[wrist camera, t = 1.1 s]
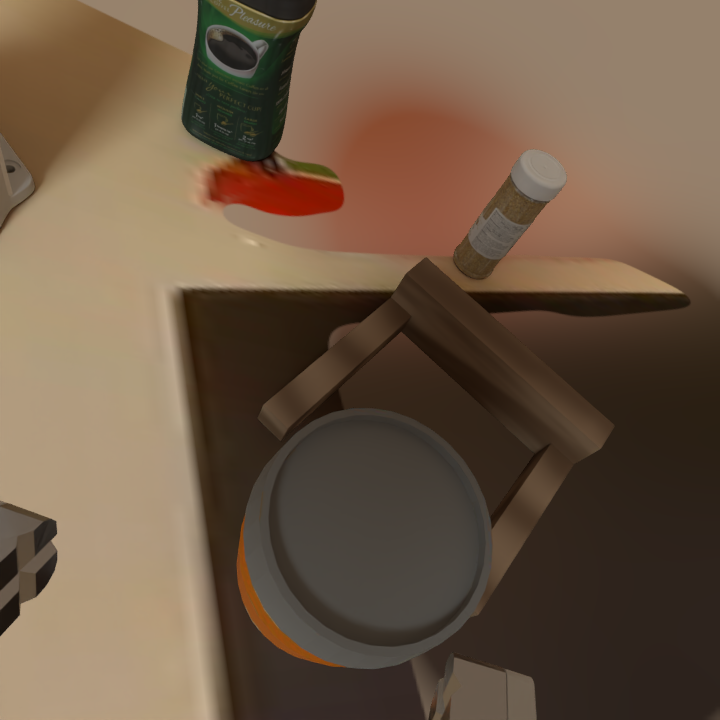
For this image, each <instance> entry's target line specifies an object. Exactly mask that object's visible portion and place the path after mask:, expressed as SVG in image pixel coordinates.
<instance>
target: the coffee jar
mask: <svg viewBox="0 0 720 720" xmlns="http://www.w3.org/2000/svg"><path fill="white" fill-rule="evenodd" d="M316 3H317V0H198V21H197V32H196V38H195V44H194V49H193V55H192V61H191V66H190V70H189V75H188V79H187V84H186V89H185V94H184V99H183V106H182V123H183V125H184V127H185V128H186V130H187V131H188V132H189V133H190V134H191V135H193V136H194V137H196V138H197V139H199V140H201V141H202V142H204V143H206V144H208V145H210V146H212V147H214V148H216V149H218V150H220V151H222V152H224V153H227V154H229V155H232V156H234V157H237V158H239V159H242V160H246V161H257V160H262V159H264V158H266V157H268V156H269V155H270V154H271V153H272V152H273V151H274V150H275V148H276V147H277V146H278V144H279V142H280V140H281V137H282V134H283V129H284V124H285V118H286V112H287V103H288V96H289V87H290V80H291V73H292V67H293V61H294V55H295V51H296V47H297V43H298V39H299V35H300V32H301V31H302V30H303V29H304V27H305V26H306V25H307V23H308V22H309V20H310V18H311V16H312V14H313V12H314V9H315V5H316Z"/></svg>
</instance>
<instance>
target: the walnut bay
mask: <svg viewBox="0 0 720 720" xmlns="http://www.w3.org/2000/svg"><path fill="white" fill-rule="evenodd" d="M400 332H403V333H404V334H405V335H406V336H407V337H408V338H409V339H410V340H411V341H412V342H413V343H415V344H416V345H417V346H418V347H419V348H420V349H421V350H422V351H423V352H424V353H425V354H427V355H428V356H429V357H430V358H431V359H432V360H433V361H434V362H435V363H436V364H437V365H439V366H440V367H441V368H442V369H443V370H444V371H445V372H446V373H447V374H448V375H449V376H450V377H452V378H453V379H454V380H455V381H456V382H457V383H458V384H459V385H460V386H461V387H462V388H463V389H465V390H466V391H467V392H468V393H469V394H470V395H471V396H472V397H473V398H474V399H475V400H477V401H478V402H479V403H480V404H481V405H482V406H483V407H484V408H485V409H487V410H488V411H489V412H490V413H491V414H492V415H493V416H494V417H495V418H496V419H497V420H498V421H499V422H501V423H502V424H503V425H504V426H505V427H506V428H507V429H508V430H509V431H510V432H511V433H512V434H513V435H515V436H516V437H517V438H518V439H519V440H520V441H521V442H522V443H523V444H524V445H526V446H527V447H528V448H529V449H530V450H531V451H532V452H533V453H534V454H535V455H534V456H533V457H532V459H531V460H530V461H529V463H528V464H527V466H526V467H525V469H524V470H523V472H522V473H521V474H520V476H519V477H518V479H517V480H516V481H515V483H514V484H513V486H512V487H511V489H510V490H509V491H508V493H507V494H506V496H505V497H504V499H503V500H502V502H501V503H500V505H499V506H498V507H497V509H496V510H495V512H494V513H493V514H492V516H491V517H490V520H491V528H492V539H493V552H492V564H491V570H490V574H489V578H488V581H487V585H486V588H485V591H484V593H483V595H482V597H481V599H480V601H479V603H478V605H477V607H476V609H475V611H474V612H473V613H472V615H471V616H470V617H473V616H476V615H479V613H480V612H481V610H482V608H483V607H484V605H485V604H486V602H487V600H488V599H489V597H490V596H491V594H492V593H493V591H494V589H495V588H496V586H497V585H498V583H499V582H500V580H501V578H502V577H503V575H504V574H505V572H506V571H507V569H508V567H509V566H510V564H511V563H512V561H513V559H514V558H515V556H516V555H517V553H518V552H519V550H520V548H521V547H522V545H523V544H524V542H525V540H526V539H527V537H528V536H529V534H530V533H531V531H532V529H533V528H534V526H535V525H536V523H537V521H538V520H539V518H540V517H541V515H542V514H543V512H544V510H545V509H546V507H547V506H548V504H549V502H550V501H551V499H552V498H553V496H554V495H555V493H556V491H557V490H558V488H559V487H560V485H561V484H562V482H563V480H564V478H565V477H566V476H567V474H568V473H569V471H570V469H571V468H572V466H573V465H574V464H575V463H577V462H578V461H580V460H582V459H584V458H585V457H587V456H589V455H591V454H592V453H594V452H596V451H598V450H599V449H601V448H602V446H603V444H604V442H605V441H606V439H607V438H608V436H609V434H610V433H611V431H612V429H613V428H614V424H612V423H611V422H610V421H609V420H608V419H607V418H606V417H605V416H603V415H602V414H601V413H600V412H599V411H598V410H597V409H595V408H594V407H593V406H592V405H591V404H590V403H589V402H588V401H587V400H585V399H584V398H583V397H582V396H581V395H580V394H579V393H578V392H576V391H575V390H574V389H573V388H572V387H571V386H570V385H569V384H568V383H566V382H565V381H564V380H563V379H562V378H561V377H560V376H559V375H558V374H556V373H555V372H554V371H553V370H552V369H551V368H550V367H549V366H547V365H546V364H545V363H544V362H543V361H542V360H541V359H540V358H538V357H537V356H536V355H535V354H534V353H533V352H532V351H530V350H529V349H528V348H527V347H526V346H525V345H524V344H523V343H522V342H521V341H519V340H518V339H517V338H516V337H515V336H514V335H513V334H512V333H510V332H509V331H508V330H507V329H506V328H505V327H504V326H503V325H501V324H500V323H499V322H498V321H497V320H496V319H495V318H494V317H492V316H491V315H490V314H489V313H488V312H487V311H486V310H485V309H484V308H482V307H481V306H480V305H479V304H478V303H477V302H476V301H475V300H474V299H472V298H471V297H470V296H469V295H468V294H467V293H466V292H465V291H463V290H462V289H461V288H460V287H459V286H458V285H457V284H456V283H455V282H453V281H452V280H451V279H450V278H449V277H448V276H447V275H446V274H444V273H443V272H442V271H441V270H440V269H439V268H438V267H437V266H435V265H434V264H433V263H432V262H431V261H430V260H429V259H428V258H427V257H426V258H424V259H423V260H422V261H421V262H419V263H418V264H417V265H416V266H415V267H413V268H412V269H411V270H410V271H409V272H407V273H406V275H405V276H404V278H403V279H402V281H401V282H400V284H399V286H398V287H397V289H396V290H395V292H394V294H393V295H392V297H391V298H390V299H389V300H387V301H386V302H385V303H384V304H383V305H381V306H380V307H379V308H378V309H377V310H375V311H374V312H373V313H372V314H371V315H370V316H368V317H367V318H366V319H365V320H364V321H362V322H361V323H360V324H359V325H358V326H357V327H355V328H354V329H353V330H352V331H351V332H349V333H348V334H347V335H346V336H345V337H343V338H342V339H341V340H340V341H339V342H338V343H336V344H335V345H334V346H333V347H332V348H330V349H329V350H328V351H327V352H326V353H324V354H323V355H322V356H321V357H320V358H318V359H317V360H316V361H315V362H314V363H313V364H311V365H310V366H309V367H308V368H307V369H305V370H304V371H303V372H302V373H301V374H299V375H298V376H297V377H296V378H295V379H294V380H292V381H291V382H290V383H289V384H288V385H286V386H285V387H284V388H283V389H282V390H280V391H279V392H278V393H277V394H276V395H274V396H273V397H272V398H271V399H270V400H269V401H267V402H266V403H265V404H264V405H263V407H262V409H261V412H260V414H259V416H258V418H257V419H258V420H259V421H260V422H261V423H262V424H263V425H264V426H265V427H266V428H267V429H268V430H269V431H270V432H272V433H273V434H274V435H275V436H276V437H277V438H278V439H279V440H280V441H282V440H283V439H284V438H285V437H286V436H287V435H288V434H289V433H290V432H291V431H292V430H294V429H295V428H296V427H297V426H298V425H299V424H300V423H301V422H302V421H303V420H305V419H306V418H307V417H308V416H309V415H310V414H311V413H312V412H313V411H314V410H316V409H317V408H318V407H319V406H320V405H321V404H322V403H323V402H324V401H325V400H326V399H328V398H329V397H330V396H331V395H332V394H333V393H334V392H335V391H336V390H337V389H339V388H340V387H341V386H342V385H343V384H344V383H345V382H346V381H347V380H348V379H349V378H350V377H352V376H353V375H354V374H355V373H356V372H357V371H358V370H359V369H360V368H362V367H363V366H364V365H365V364H366V363H367V362H368V361H369V360H370V359H371V358H372V357H374V356H375V355H376V354H377V353H378V352H379V351H380V350H381V349H382V348H383V347H385V345H386V344H388V343H389V342H390V341H391V340H392V339H393V338H394V337H396V336H397V335H398V334H399V333H400Z"/></svg>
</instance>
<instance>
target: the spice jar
mask: <svg viewBox="0 0 720 720" xmlns="http://www.w3.org/2000/svg"><path fill="white" fill-rule="evenodd" d="M566 179H567V176H566V172H565V169H564V168H563V166H562V165H561V163H560V162H559V161H558V160H557V159H556V158H554V157H553V156H551V155H550V154H548V153H546V152H543V151H541V150H536V149H531V150H527V151H525V152H524V153H523V154H522V155H521V156H520V157H519V159H518V160H517V161H516V163H515V164H514V166H513V167H512V170H511V173H510V175H509V176H508V178H507V180H506V181H505V182H504V184H503V185H502V186H501V188H500V189H499V190H498V192H497V193H496V195H495V196H494V197H493V198H492V199H491V201H490V202H489V203H488V205H487V206H486V208H485V209H484V210H483V212H482V213H481V214H480V216H479V218H478V219H477V220H476V221H475V223H474V224H473V226H472V227H471V228H470V231H469V233H468V234H467V236H466V237H465V238H464V240H463V241H462V242H461V244H459V245H458V246H457V247H456V249H455V252H454V261H455V263H456V265H457V266H458V268H459V269H460V270H461V271H462V272H463V273H465V274H466V275H468V276H469V277H472V278H475V279H483V278H486V277H488V276H489V275H490V274H491V273H492V271H493V268H494V267H495V266H496V265H497V264H498V262H499V261H500V260H501V259H502V258H503V257H504V256H505V255H506V254H507V253H508V251H509V250H510V249H511V248H512V247H513V245H514V244H515V243H516V242H517V240H518V239H519V238H520V237H521V236H522V234H523V233H524V232H525V231H526V230H527V229H528V227H529V226H530V225H531V223H533V221H534V219H535V218H536V216H537V215H538V214H539V213H540V212H541V210H542V209H543V208H544V207H545V205H546V204H547V203H549V202H550V200H552V199H554V198H555V197H556V195H557V194H558V193H559V192H560V191H561V189H562V188H563V186H564V185H565V183H566Z"/></svg>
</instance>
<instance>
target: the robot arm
mask: <svg viewBox="0 0 720 720" xmlns="http://www.w3.org/2000/svg"><path fill="white" fill-rule="evenodd" d="M7 172H13V173H7ZM34 189H35V184H34V181H33V178H32V175H31V174H30V172H29V171H28V169H27V168H26V167H25V165H24V164H23V163H22V161H21V160H20V159H19V157H18V156H17V154H16V153H15V152H14V150H13V149H12V148H11V146H10V145H9V144H8V142H7V141H6V139H5V138H4V137H3V135H2V134H1V133H0V227H1V225H2V223H3V221H4V219H5V218H6V216H7V214H8V213H9V211H10V210H11V209H12V208H13V207H15V206H16V205H18V204H19V203H20V202H22V201H23V200H25V199H26V198H27V197H28V196H29V195H31V194H32V192H33V191H34ZM56 534H57V526H56V521H54V520H52V519H50V518H47V517H45V516H42V515H39V514H37V513H34V512H31V511H28V510H26V509H23V508H20V507H17V506H15V505H12V504H9V503H6V502H3V501H0V636H1V635H2V634H3V633H4V632H5V631H6V629H7V628H8V627H9V626H10V625H11V624H12V623H13V622H14V621H15V620H16V619H17V618H18V616H19V615H20V606H21V603H23V602H26V601H28V600H30V599H33V598H35V597H37V596H38V594H39V593H40V592H41V591H42V590H43V589H44V588H45V586H46V585H47V583H48V582H49V580H50V578H51V576H52V574H53V573H54V570H55V567H56V563H57V550H56V548H55V546H54V545H53V543H52V542H51V540H52V539H53V538H54V537H55V536H56ZM429 720H537V719H536V704H535V689H534V682H533V680H532V678H531V677H528V676H525V675H522V674H519V673H516V672H513V671H510V670H507V669H503V668H502V667H499V666H496V665H493V664H489V663H486V662H483V661H480V660H477V659H474V658H471V657H468V656H464V655H461V654H458V653H455V652H452V653H451V654H450V656H449V658H448V661H447V663H446V668H445V677H444V678H443V679H440V680H439V682H438V685H437V687H436V690H435V693H434V697H433V700H432V704H431V708H430V714H429Z"/></svg>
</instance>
